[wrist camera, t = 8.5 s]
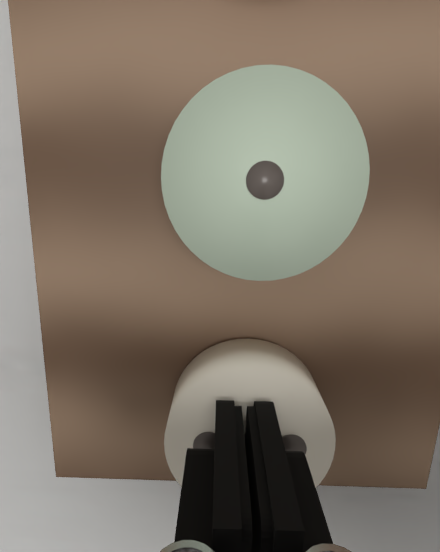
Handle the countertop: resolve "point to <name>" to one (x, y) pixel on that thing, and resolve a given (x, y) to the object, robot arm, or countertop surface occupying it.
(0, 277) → the countertop surface
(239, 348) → the cream button
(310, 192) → the sage button
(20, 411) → the countertop surface
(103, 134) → the button board
